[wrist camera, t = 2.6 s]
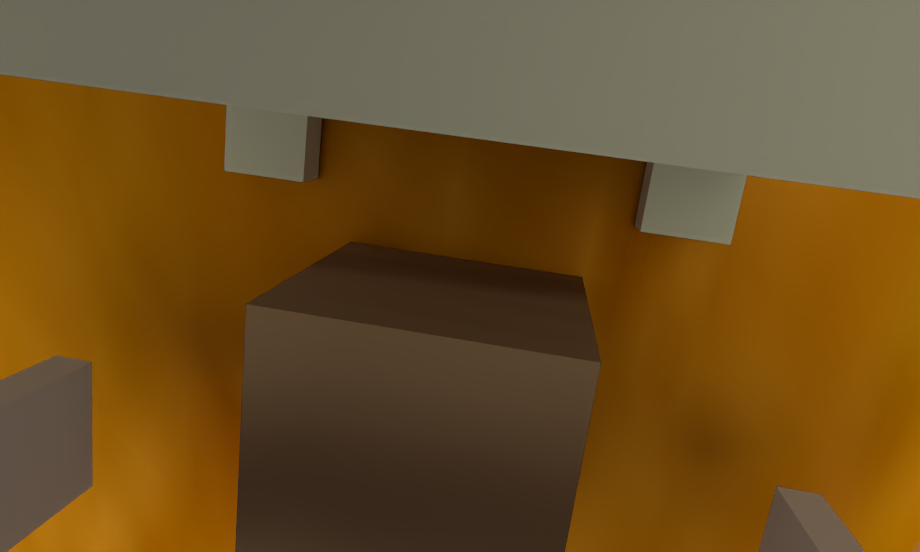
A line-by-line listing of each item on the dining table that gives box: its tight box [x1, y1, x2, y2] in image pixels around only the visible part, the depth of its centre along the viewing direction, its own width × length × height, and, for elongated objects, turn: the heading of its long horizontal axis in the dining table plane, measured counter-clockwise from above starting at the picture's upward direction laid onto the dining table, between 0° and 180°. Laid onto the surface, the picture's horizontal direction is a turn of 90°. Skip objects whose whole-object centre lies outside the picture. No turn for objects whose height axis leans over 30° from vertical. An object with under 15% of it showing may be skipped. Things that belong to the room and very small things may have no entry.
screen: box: [0, 0, 920, 245], centre depth 9 cm, size 5×12×12 cm, turn 82°
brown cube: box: [235, 242, 601, 552], centre depth 14 cm, size 6×6×6 cm
